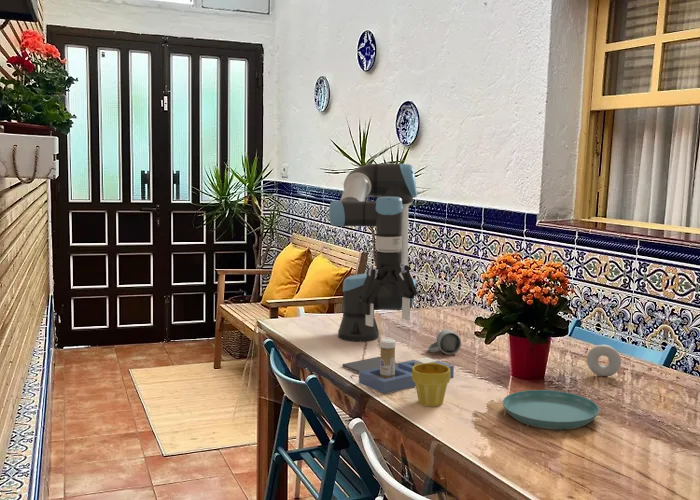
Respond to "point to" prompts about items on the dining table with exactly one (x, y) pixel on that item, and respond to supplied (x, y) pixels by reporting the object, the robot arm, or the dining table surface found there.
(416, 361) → the cream block
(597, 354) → the donut
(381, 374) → the sprinkles bottle
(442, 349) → the ceramic mug
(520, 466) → the dining table surface
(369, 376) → the dish
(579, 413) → the saucer
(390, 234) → the robot arm
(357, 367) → the mat
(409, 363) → the dish
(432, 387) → the plant pot
